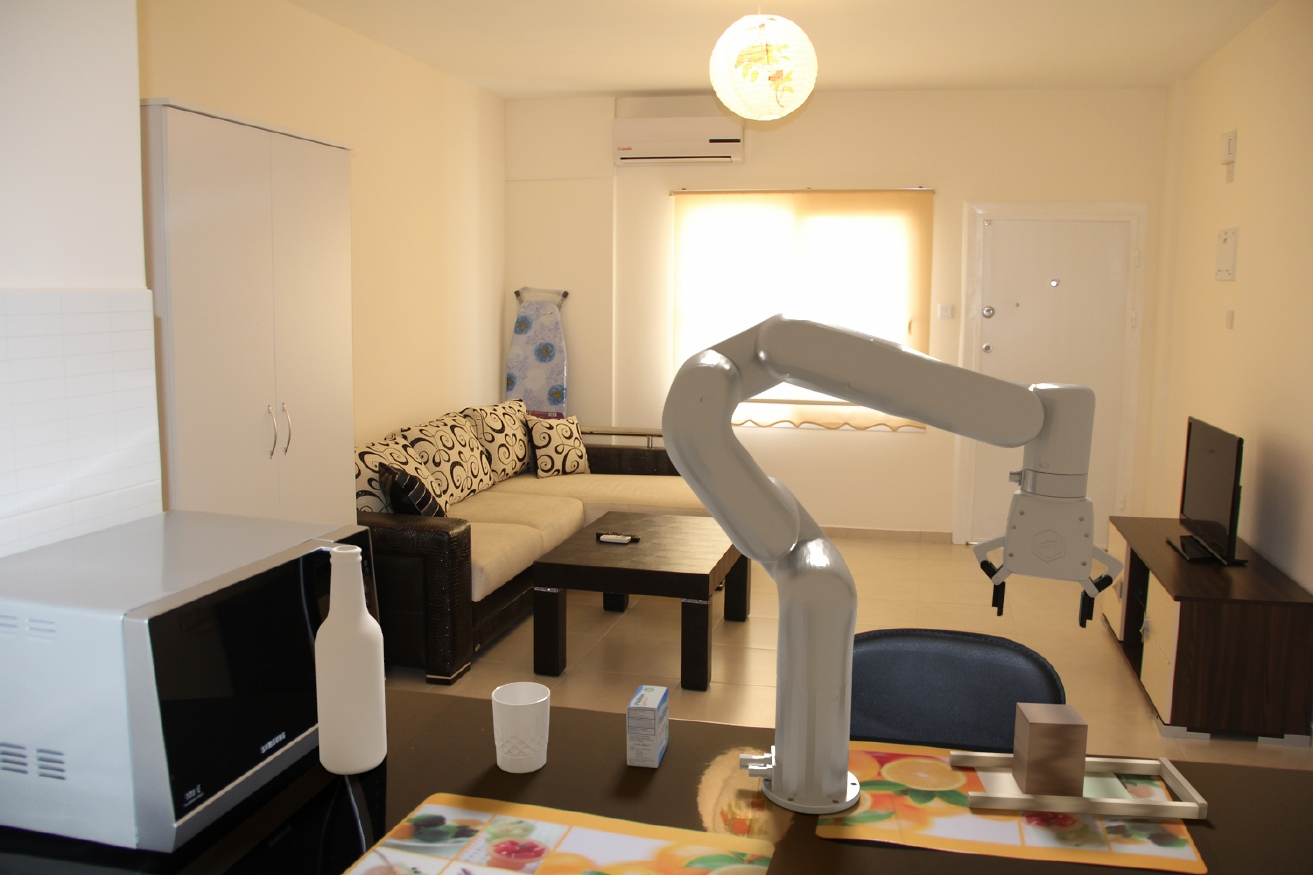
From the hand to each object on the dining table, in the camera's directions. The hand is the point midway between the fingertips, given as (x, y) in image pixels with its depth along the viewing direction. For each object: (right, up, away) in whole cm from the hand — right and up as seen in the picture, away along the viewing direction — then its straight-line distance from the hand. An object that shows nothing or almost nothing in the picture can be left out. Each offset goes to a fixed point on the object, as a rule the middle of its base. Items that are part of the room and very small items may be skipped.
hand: (1040, 618), depth 124 cm
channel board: (+5, -24, +3) cm, 25 cm away
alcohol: (-90, -22, +12) cm, 93 cm away
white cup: (-66, -22, +12) cm, 71 cm away
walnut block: (+2, -22, +3) cm, 23 cm away
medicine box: (-49, -22, +15) cm, 56 cm away
